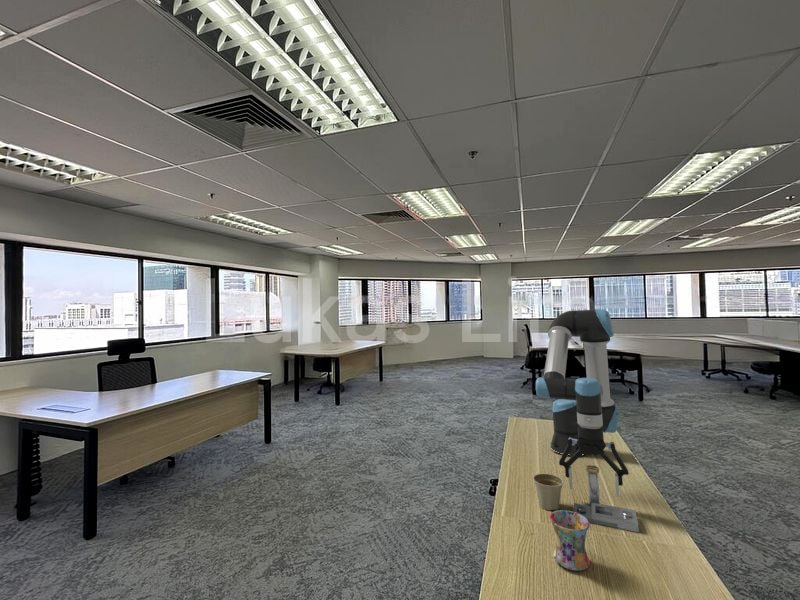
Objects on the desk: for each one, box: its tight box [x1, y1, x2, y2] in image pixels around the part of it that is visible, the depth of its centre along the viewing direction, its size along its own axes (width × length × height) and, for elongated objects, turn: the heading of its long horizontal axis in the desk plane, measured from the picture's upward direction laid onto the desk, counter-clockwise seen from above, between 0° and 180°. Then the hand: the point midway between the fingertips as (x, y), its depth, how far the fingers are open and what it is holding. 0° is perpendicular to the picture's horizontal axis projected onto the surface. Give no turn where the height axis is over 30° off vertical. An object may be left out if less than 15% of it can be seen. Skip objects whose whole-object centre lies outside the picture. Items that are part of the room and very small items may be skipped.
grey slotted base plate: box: [572, 502, 640, 533], centre depth 111 cm, size 8×17×3 cm, turn 62°
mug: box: [549, 509, 591, 572], centre depth 94 cm, size 12×9×11 cm
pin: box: [585, 464, 601, 506], centre depth 120 cm, size 4×4×12 cm
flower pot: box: [532, 473, 564, 511], centre depth 120 cm, size 9×9×9 cm
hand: (593, 491), depth 120 cm, fingers open, 13 cm apart
